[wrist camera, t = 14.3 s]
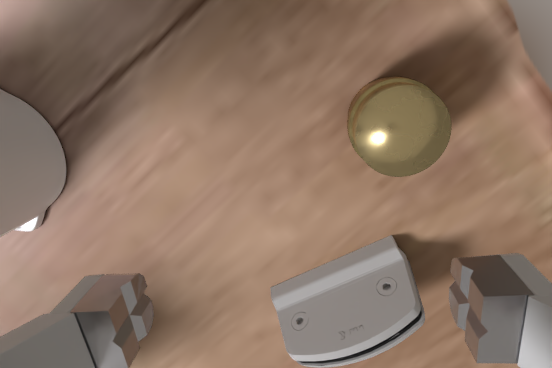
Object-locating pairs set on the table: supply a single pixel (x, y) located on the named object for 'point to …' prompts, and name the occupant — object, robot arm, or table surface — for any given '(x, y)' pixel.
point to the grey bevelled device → (349, 307)
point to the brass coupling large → (398, 126)
